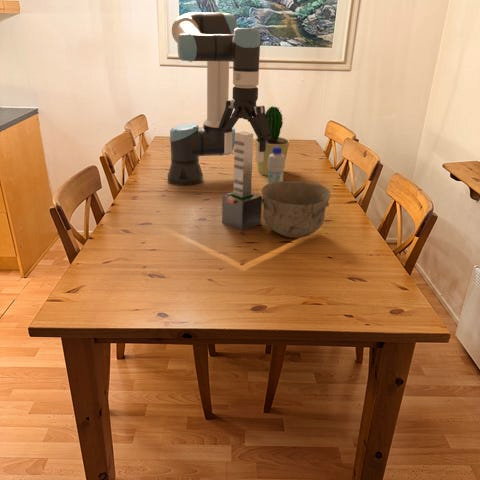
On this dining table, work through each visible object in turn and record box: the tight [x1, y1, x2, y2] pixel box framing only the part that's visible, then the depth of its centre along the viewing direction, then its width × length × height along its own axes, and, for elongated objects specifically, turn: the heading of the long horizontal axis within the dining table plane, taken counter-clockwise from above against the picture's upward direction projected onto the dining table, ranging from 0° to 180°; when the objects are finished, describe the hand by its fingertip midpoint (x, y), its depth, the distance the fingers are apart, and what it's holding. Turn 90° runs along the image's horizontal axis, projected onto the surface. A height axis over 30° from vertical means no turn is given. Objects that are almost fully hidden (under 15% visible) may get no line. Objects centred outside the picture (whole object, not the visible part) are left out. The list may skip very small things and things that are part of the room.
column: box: [233, 131, 254, 200], centre depth 142 cm, size 4×5×22 cm
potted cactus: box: [254, 105, 291, 177], centre depth 200 cm, size 15×15×30 cm
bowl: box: [261, 180, 332, 239], centre depth 143 cm, size 22×22×15 cm
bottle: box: [266, 147, 286, 185], centre depth 173 cm, size 7×7×20 cm
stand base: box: [221, 191, 263, 232], centre depth 149 cm, size 14×14×11 cm
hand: (243, 157), depth 141 cm, fingers open, 13 cm apart
